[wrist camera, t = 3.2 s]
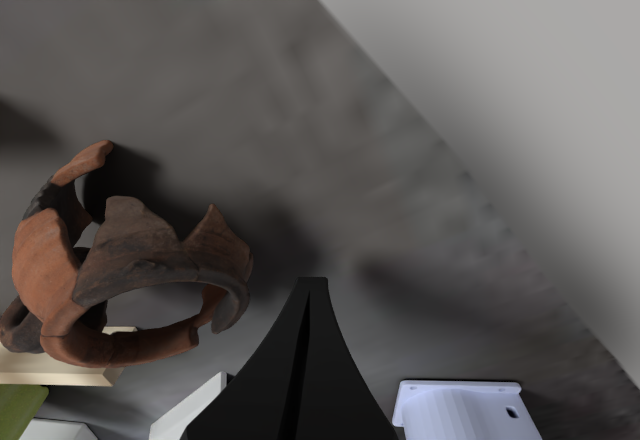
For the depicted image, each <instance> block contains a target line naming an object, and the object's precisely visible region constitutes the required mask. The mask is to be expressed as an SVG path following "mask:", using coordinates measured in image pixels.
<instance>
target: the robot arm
mask: <svg viewBox="0 0 640 440" xmlns="http://www.w3.org/2000/svg"><path fill="white" fill-rule="evenodd" d="M520 391H521V387H520V385H519V384H518V383H516V382H475V381H424V380H404V381H402V382H401V383H400V386H399V391H398V395H397V400H396V405H395V409H394V414H393V419H392V422H393V425H394V426H401V427H404V431H405V436H406V440H542V438H541V436H540V434H539V432H538V430H537V428H536V426H535V424H534V422H533V421H532V419H531V417H530V415H529V413H528V411H527V409H526V407H525V405H524V403H523V401H522V399H521V397H520V396H519V392H520ZM179 440H399V439H398V437H397V434H396V432H395V430H394V428H393V427H392V425H391V424H390V422H389V421H388V419H387V418H386V416H385V415H384V413H383V412H382V410H381V408H380V407H379V405H378V404H377V402H376V400H375V399H374V397H373V395H372V394H371V392H370V390H369V388H368V387H367V385H366V383H365V381H364V379H363V378H362V376H361V374H360V372H359V370H358V368H357V366H356V364H355V362H354V360H353V358H352V356H351V354H350V352H349V350H348V348H347V345H346V343H345V341H344V338H343V336H342V333H341V331H340V328H339V326H338V323H337V320H336V317H335V314H334V311H333V307H332V304H331V300H330V295H329V290H328V279H327V278H326V277H298V278H297V279H296V281H295V284H294V286H293V289H292V291H291V293H290V295H289V297H288V299H287V301H286V303H285V305H284V307H283V309H282V311H281V312H280V314H279V316H278V318H277V319H276V321H275V323H274V324H273V326H272V327H271V329H270V331H269V332H268V334H267V335H266V337H265V338H264V340H263V341H262V343H261V344H260V345H259V347H258V348H257V350H256V351H255V352H254V354H253V355H252V356H251V357H250V359H249V360H248V361H247V362H246V364H245V365H244V366H243V367H242V369H241V370H240V371H239V372H238V373H237V375H236V376H235V377H234V378H233V379H232V380H231V381H230V382H229V384H228V385H227V386H226V387H225V388H224V389H223V390H222V391H221V392H220V393H219V394H218V396H217V397H216V398H215V399H214V400H213V401H212V402H211V403H210V404H209V405H208V406H207V407H206V408H205V409H203V410H202V411H201V412H200V413H199V414H198V415H197V416H196V417H195V418H194V419H193V420H192V421H191V422H190V423H189V424H188V425H187V426H186V428H185V430H184V432H183V433H182V435H181V437H180V439H179Z"/></svg>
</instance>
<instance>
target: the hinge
mask: <svg viewBox="0 0 640 440" xmlns="http://www.w3.org/2000/svg"><path fill="white" fill-rule="evenodd" d="M226 384H227V373H225V372H222V371H221V372H219V373H218V374H217V375H215V376H214V377H213V378H212V379H210V380H209V381H208V382H206V383H205V384H204V385H202V386H201V387H200V388H199V389H197V390H196V391H195V392H193V393H192V394H191V395H189V396H188V397H187V398H186V399H184V400H183V401H182V402H180V403H179V404H178V405H176V406H175V407H174V408H173V409H171V410H170V411H169V412H167V413H166V414H165V415H163V416H162V417H161V418H160V419H158V420H157V421H156V422H154V423H153V424H152V425H151V430H150V436H149V440H179V439H180V437H181V435H182V433H183V432H184V430H185V428H186V426H187V425H188V424H189V423H190V422H191V421H192V420H193V419H194V418H195V417H196V416H197V415H198V414H199V413H200V412H201V411H202V410H203V409H205V408H206V407H207V406H208V405H209V404H210V403H211V402H212V401H213V400H214V399H215V398H216V397H217V396H218V394H219V393H220V392H221V391H222V390H223V389H224V388H225V387H226Z"/></svg>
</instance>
